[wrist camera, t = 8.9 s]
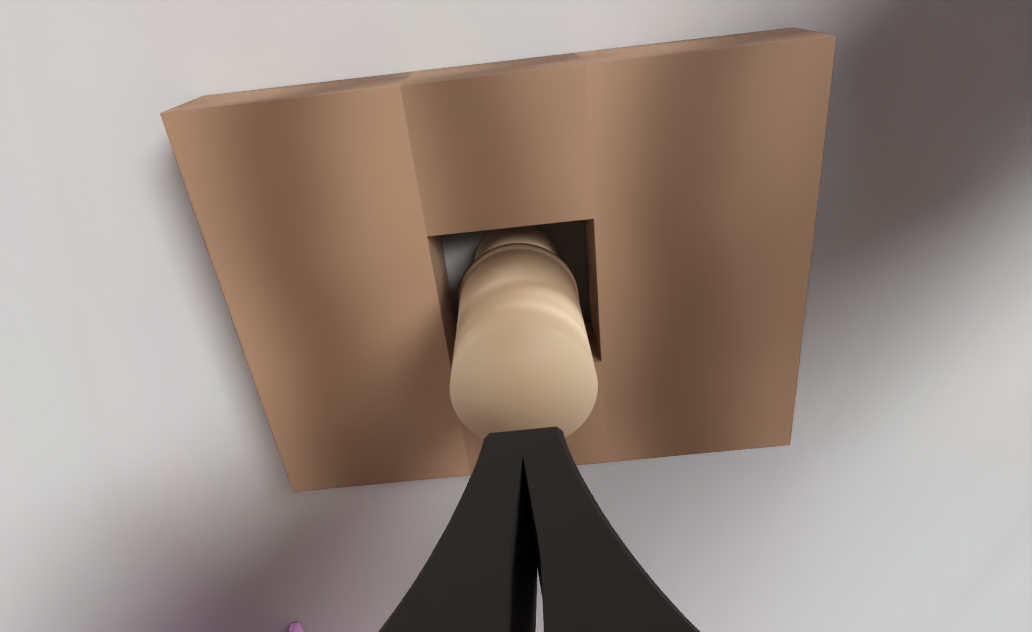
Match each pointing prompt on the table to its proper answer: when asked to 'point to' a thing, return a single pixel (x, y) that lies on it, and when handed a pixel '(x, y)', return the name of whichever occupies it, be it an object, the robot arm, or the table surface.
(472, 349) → the peg
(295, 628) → the toy chair
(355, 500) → the table surface
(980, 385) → the table surface
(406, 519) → the table surface
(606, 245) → the board
